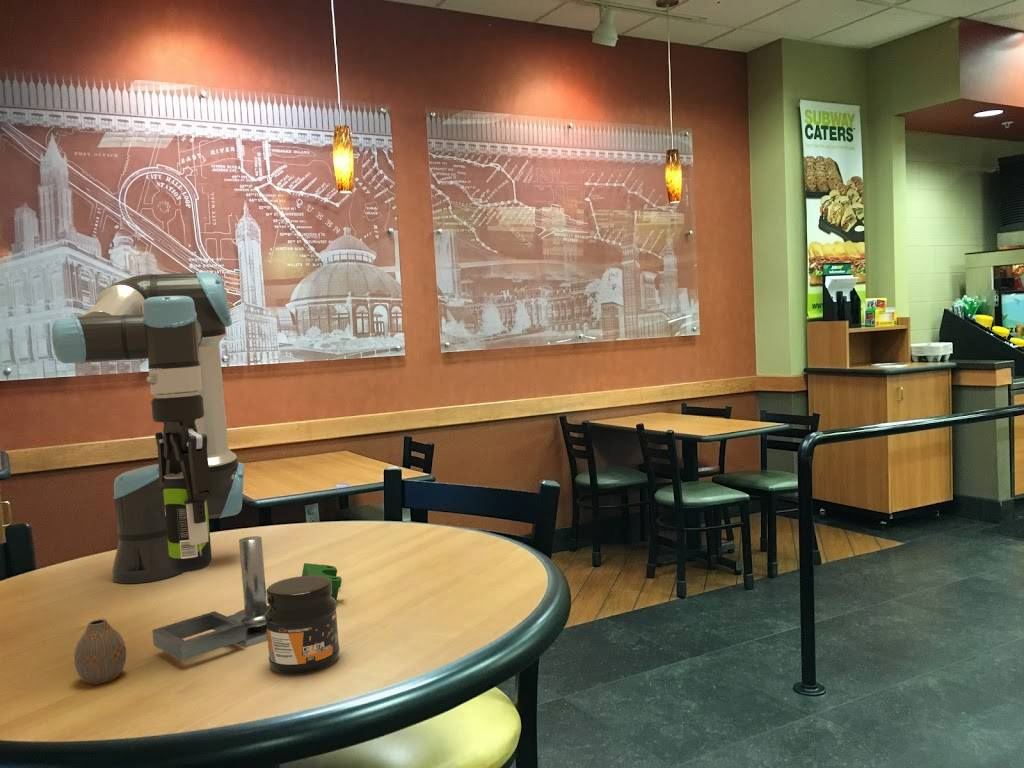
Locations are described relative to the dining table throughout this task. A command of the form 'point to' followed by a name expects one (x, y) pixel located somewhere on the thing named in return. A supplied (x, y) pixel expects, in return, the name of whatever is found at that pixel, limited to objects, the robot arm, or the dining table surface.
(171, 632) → the frame with upright rod
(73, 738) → the dining table surface
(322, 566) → the clamp
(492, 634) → the dining table surface
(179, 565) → the beverage can
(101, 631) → the vase
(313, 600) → the supplement container
